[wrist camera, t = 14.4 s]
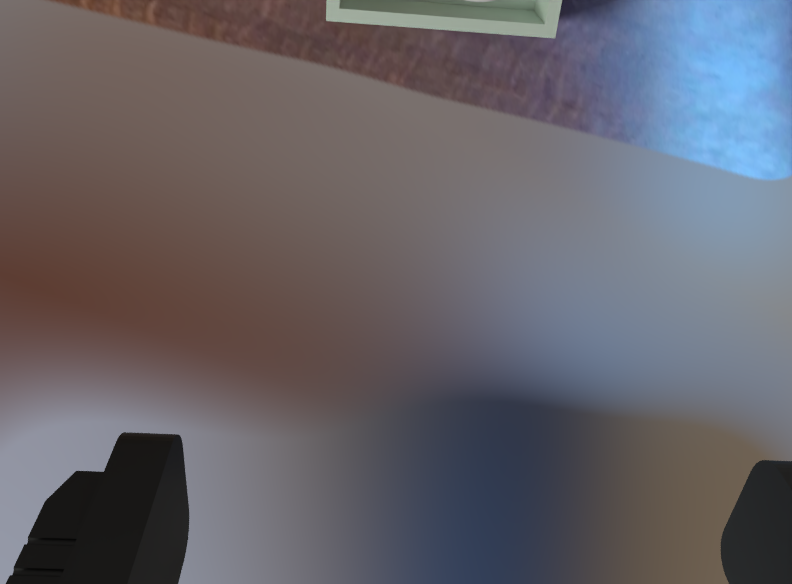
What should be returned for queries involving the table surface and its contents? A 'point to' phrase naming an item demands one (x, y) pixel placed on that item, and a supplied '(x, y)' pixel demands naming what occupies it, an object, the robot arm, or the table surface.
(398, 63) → the table surface
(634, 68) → the table surface
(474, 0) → the sprinkles bottle
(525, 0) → the tray
